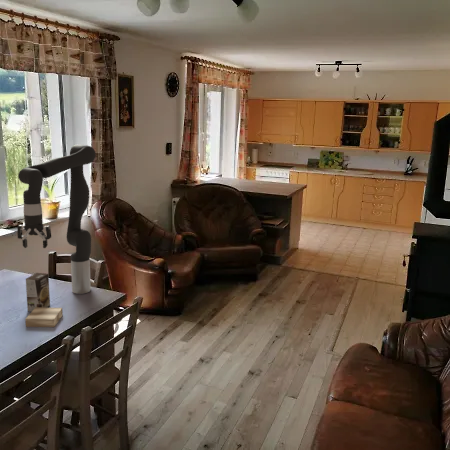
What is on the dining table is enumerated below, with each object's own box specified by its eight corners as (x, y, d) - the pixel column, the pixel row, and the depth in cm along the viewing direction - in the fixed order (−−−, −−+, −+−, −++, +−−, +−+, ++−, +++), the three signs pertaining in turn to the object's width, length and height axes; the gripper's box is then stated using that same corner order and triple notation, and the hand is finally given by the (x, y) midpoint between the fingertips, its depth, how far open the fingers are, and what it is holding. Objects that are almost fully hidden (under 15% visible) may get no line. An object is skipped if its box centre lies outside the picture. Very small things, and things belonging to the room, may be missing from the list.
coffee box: (39, 312, 207) (37, 280, 203) (27, 311, 208) (24, 278, 204) (50, 305, 215) (49, 273, 212) (38, 303, 217) (36, 272, 213)
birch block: (36, 315, 205) (35, 307, 204) (62, 315, 206) (62, 307, 205) (26, 327, 193) (25, 319, 192) (54, 327, 194) (53, 319, 193)
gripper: (51, 211, 205) (53, 245, 209) (20, 210, 204) (22, 244, 208) (46, 215, 197) (48, 250, 201) (13, 214, 197) (16, 249, 201)
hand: (35, 247), depth 205 cm, fingers open, 8 cm apart
